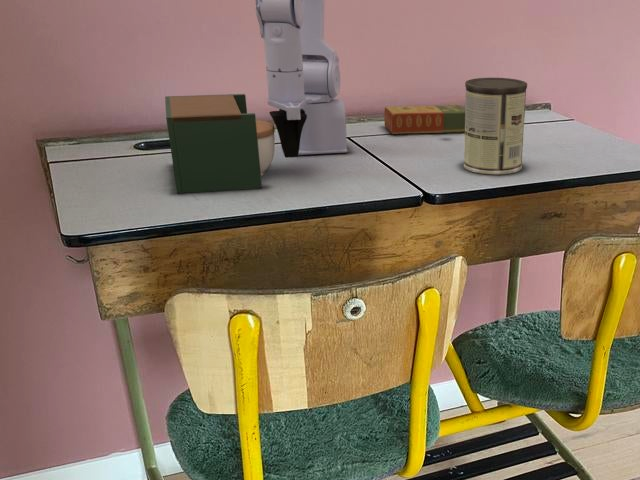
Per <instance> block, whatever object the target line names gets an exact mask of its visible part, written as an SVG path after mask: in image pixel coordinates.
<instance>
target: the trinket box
mask: <svg viewBox="0 0 640 480" xmlns="http://www.w3.org/2000/svg"><path fill="white" fill-rule="evenodd" d="M256 128H257V139H258V150H259V161H260V172H261V177H262V176H264V175H265V171H267V170H268V168H269V167H270V166H271V164H272V162H273V159H274V156H275V150H276V149H275V148H276V147H275V146H276V140H275V138H276V137H275V132H276V129H275V128H276V127H275V124H273V123H272V122H270V121H266V120H261V119H256Z"/></svg>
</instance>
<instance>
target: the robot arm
mask: <svg viewBox="0 0 640 480" xmlns="http://www.w3.org/2000/svg"><path fill="white" fill-rule="evenodd" d="M254 2H255V15H256V19H257V23H258V25H259V34H260V38H261V39H263V43H264V44H263V45H264V46H263V47H264V55H265V56H264V57H265V67H266V68H265V69H266V80H267V82H266V83H267V93H268V97H267V105H269V106H271V107H274V108H276V109H278V110H271V111H269V115H270V117H271V119H272V121H273V122H274V126H275V128H276V131H277V134H278V139H279V142H280V146H281V149H282V153H283V156H284V157H285V158H298V157H299V156H302V155H303V156H304V155H305V156H306V155H325V154H341V153H348V152H349V151H348V146H347V144H348V143H347V142H348V141H347V119H346V107H345V103H344V101H343V99H341V98H337V96H339V94H340V89H341V71H340V59H339V55H338V54H337V52H336V50H334V49H333V47H331V46H330V45H329V44H328V43H327V42H325V41H324V40H325V35H324V34H325V3H326V1H325V0H255V1H254Z"/></svg>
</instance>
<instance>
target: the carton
mask: <svg viewBox="0 0 640 480" xmlns="http://www.w3.org/2000/svg"><path fill="white" fill-rule="evenodd" d="M383 116H384V119H383V120H384V122H383V123H384V127H386V129H387V130H388V131H389V132H390V134H392V135H399V134H400V135H401V134H453V133H454V134H456V133H457V134H459V133H463V134H464V133H465V108H463V107H462V106H460V105H458V104H450V105H447V104H445V105H413V106H412V105H407V106H406V105H403V106H402V105H399V106H384V115H383Z"/></svg>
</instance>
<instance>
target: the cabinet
mask: <svg viewBox="0 0 640 480" xmlns="http://www.w3.org/2000/svg"><path fill="white" fill-rule="evenodd" d="M164 102H165V103H164V104H165V118H166V119H165V120H166V126H167V133H168V138H169V146H170V153H171V160H172V161H171V162H172V168H173V174H174V181H175V188H176V194H190V193H191V194H192V193H207V192H208V193H209V192H221V191H222V192H223V191H237V190H254V189H262V188H263V184H262V176H261V172H260V161H259V150H258V139H257V128H256V120H257V118H256V113H255V112H249V113H248V108H247V97H246V93H231V94H228V93H227V94H201V95H200V94H198V95H171V96H169V95H168V96H164Z"/></svg>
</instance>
